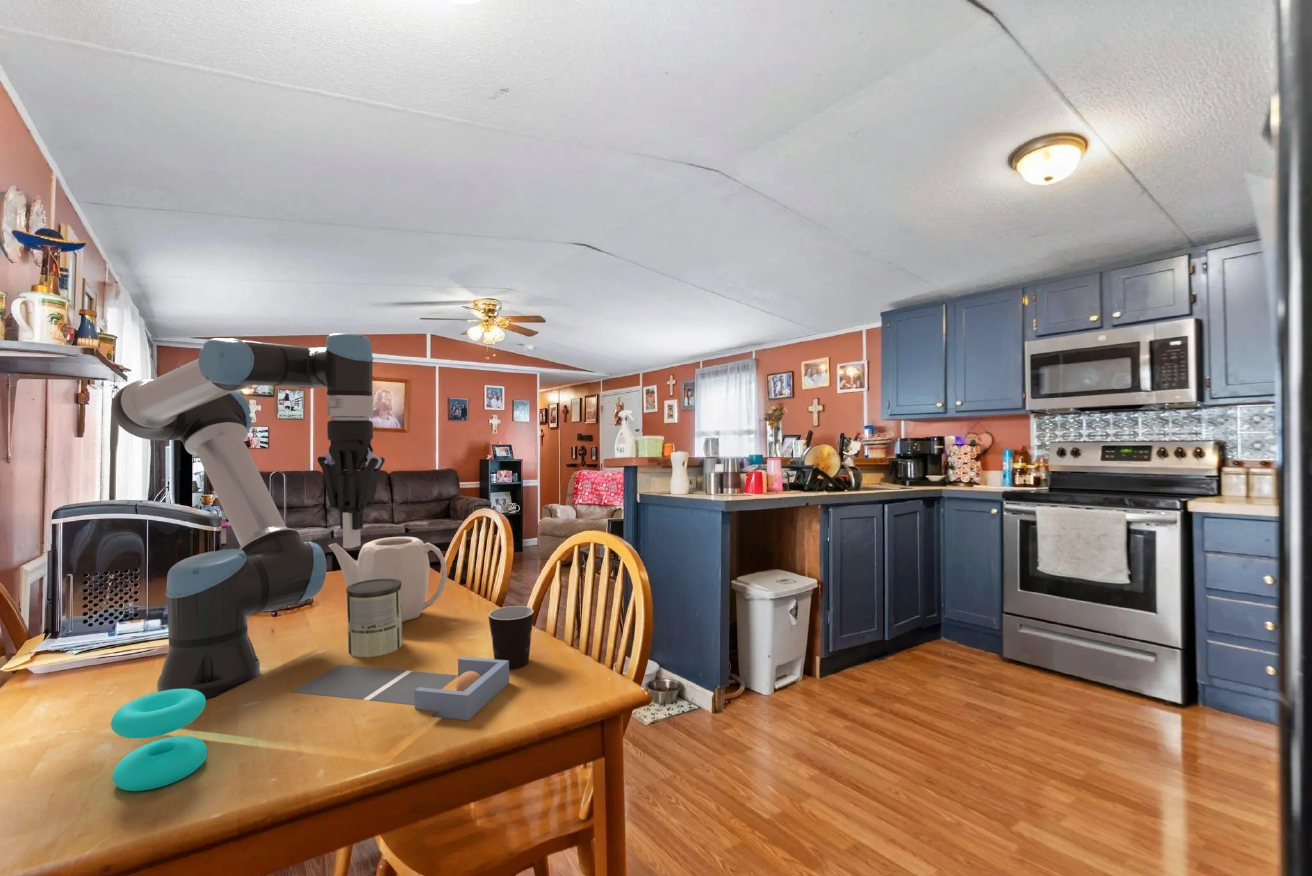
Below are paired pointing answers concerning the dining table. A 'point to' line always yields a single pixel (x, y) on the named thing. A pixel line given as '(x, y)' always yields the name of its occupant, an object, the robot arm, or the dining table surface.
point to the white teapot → (395, 569)
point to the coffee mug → (511, 634)
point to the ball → (466, 680)
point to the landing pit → (470, 699)
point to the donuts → (162, 756)
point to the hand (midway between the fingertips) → (351, 546)
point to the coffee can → (374, 617)
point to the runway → (373, 684)
